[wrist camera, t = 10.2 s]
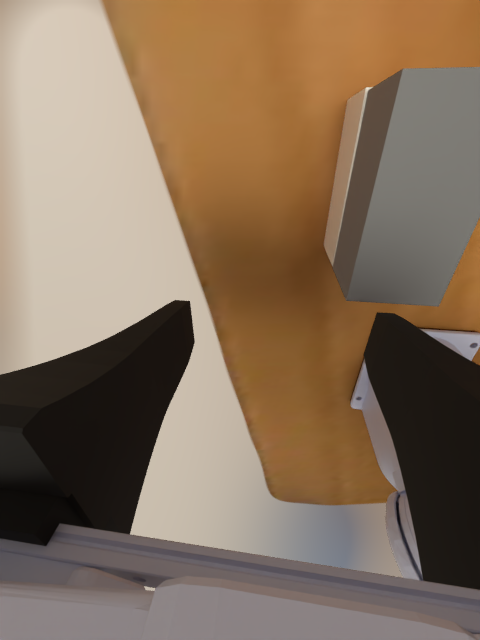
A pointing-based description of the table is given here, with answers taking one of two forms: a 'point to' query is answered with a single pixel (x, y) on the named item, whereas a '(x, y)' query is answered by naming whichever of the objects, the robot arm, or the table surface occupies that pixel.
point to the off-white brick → (344, 169)
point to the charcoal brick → (412, 187)
